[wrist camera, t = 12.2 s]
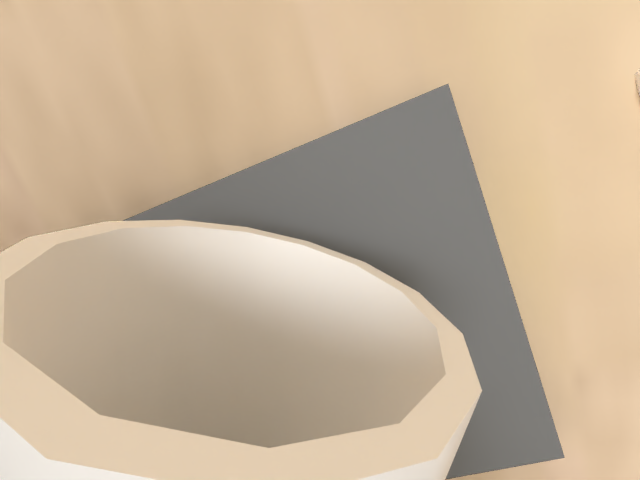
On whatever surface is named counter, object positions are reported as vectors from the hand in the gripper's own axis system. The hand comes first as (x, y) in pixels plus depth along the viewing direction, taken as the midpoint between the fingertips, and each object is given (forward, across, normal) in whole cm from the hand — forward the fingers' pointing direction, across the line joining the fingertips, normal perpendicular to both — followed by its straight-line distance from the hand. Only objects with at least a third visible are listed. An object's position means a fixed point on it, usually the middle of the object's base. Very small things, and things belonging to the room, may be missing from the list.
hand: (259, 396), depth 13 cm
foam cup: (-4, 0, -7) cm, 8 cm away
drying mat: (+4, 0, 0) cm, 4 cm away
